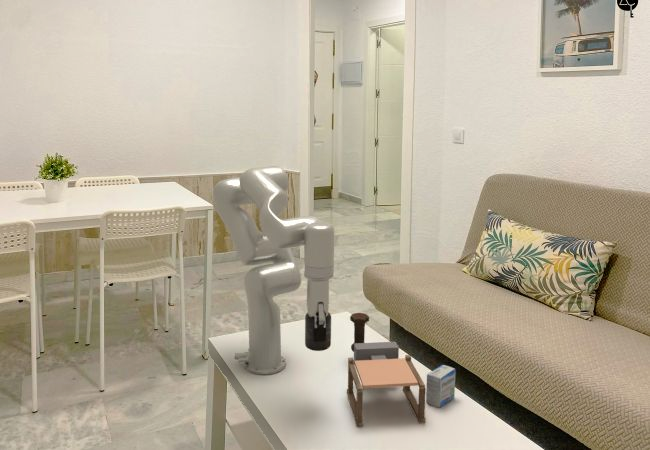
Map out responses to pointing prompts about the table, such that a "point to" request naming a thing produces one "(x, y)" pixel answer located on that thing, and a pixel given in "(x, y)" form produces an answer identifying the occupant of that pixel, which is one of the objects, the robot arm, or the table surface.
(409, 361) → the small wooden stool
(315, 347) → the supplement bottle
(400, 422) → the table surface
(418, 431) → the table surface
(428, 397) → the medicine box
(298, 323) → the table surface
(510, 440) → the table surface
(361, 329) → the bolt
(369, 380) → the trapdoor
